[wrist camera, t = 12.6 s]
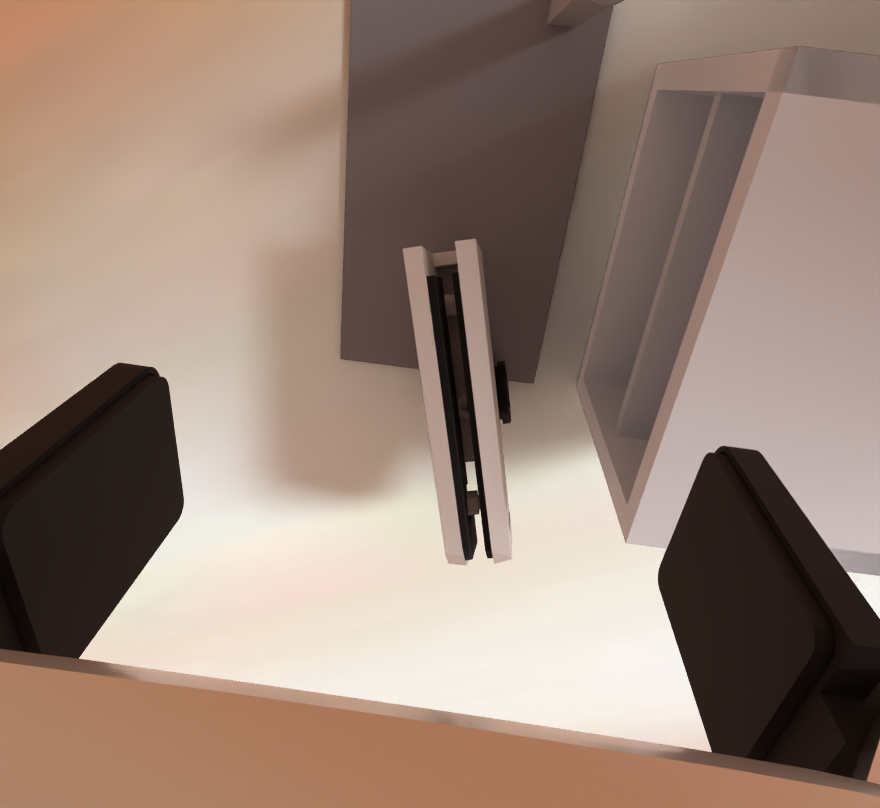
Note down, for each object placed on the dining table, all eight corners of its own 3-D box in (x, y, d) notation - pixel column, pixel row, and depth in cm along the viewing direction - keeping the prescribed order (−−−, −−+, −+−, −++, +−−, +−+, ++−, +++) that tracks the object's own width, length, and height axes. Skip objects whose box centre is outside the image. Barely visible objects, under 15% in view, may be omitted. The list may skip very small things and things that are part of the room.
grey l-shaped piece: (354, -43, 24) (270, -128, 15) (615, -10, 24) (703, -73, 15) (341, 356, 33) (283, 468, 24) (532, 381, 33) (554, 503, 24)
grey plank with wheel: (422, 265, 33) (453, 520, 35) (387, 250, 23) (433, 603, 25) (495, 256, 32) (521, 515, 34) (490, 236, 22) (527, 598, 25)
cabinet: (657, 64, 26) (799, 45, 14) (884, 92, 26) (1208, 97, 14) (576, 386, 33) (625, 543, 22) (750, 409, 33) (890, 577, 22)
